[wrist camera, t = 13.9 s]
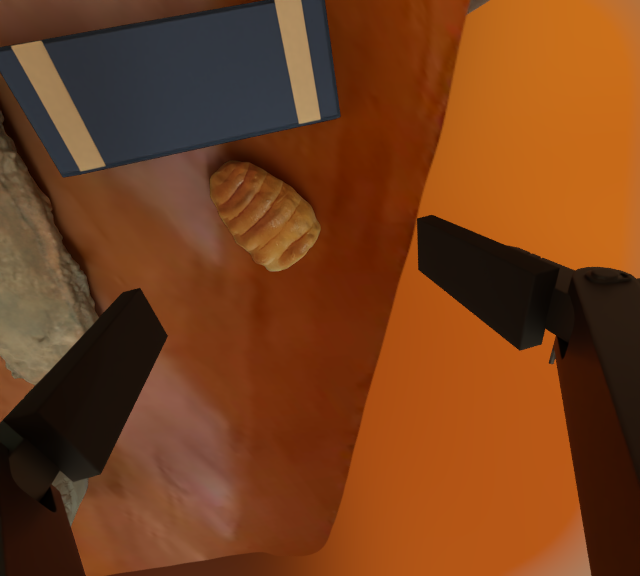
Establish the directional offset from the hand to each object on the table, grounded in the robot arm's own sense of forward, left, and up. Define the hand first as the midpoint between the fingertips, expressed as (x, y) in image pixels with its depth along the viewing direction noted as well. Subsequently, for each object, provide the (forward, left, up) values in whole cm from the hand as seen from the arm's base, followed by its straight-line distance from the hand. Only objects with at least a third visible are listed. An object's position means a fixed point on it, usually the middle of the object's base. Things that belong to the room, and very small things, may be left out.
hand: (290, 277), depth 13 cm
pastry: (+1, 0, -14) cm, 14 cm away
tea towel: (+3, -10, -13) cm, 17 cm away
